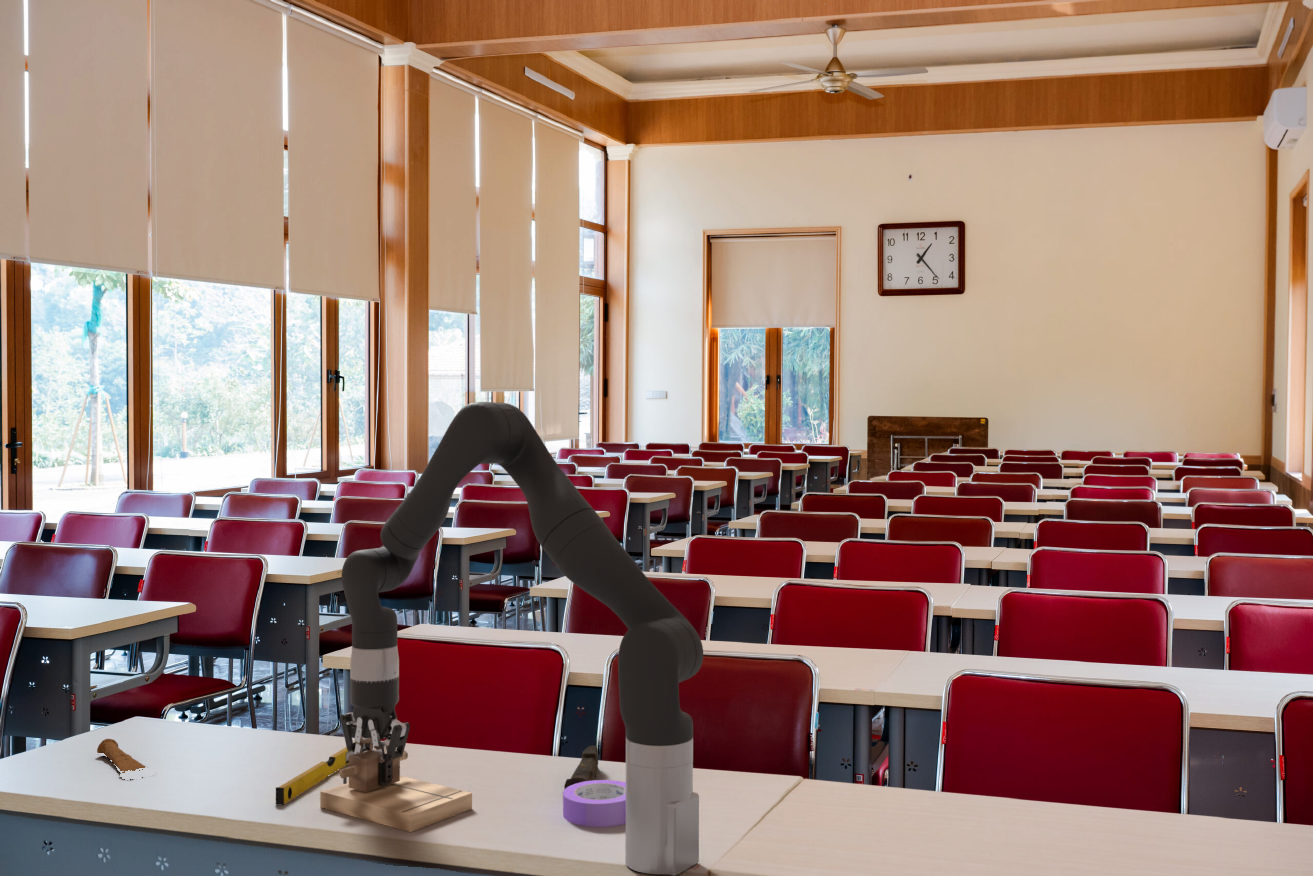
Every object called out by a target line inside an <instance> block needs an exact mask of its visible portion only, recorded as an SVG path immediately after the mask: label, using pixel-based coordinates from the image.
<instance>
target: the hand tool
mask: <svg viewBox="0 0 1313 876" xmlns="http://www.w3.org/2000/svg"><path fill="white" fill-rule="evenodd" d="M598 751H599V750H598V747H597V746H596V745H593V744H592V745H588V746H587V747H586V748H585V749H584V750H583V751H582V752H581V753H582V754H581V759H580V762H579V764H578V765H577V767H576V768H575V770H574V771H573V773H572V775H571V776H570V778H567V779H566V781H565V783H564V785H563V786H564V787H563V788H564V789H563V791H564V790H565V789H566V788H567V787H569V786H571V785H573V784H576V783H580V782H585V781H593V780H594V779H595V778H598V771H599V767H598V766H599V752H598Z"/></svg>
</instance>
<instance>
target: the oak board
mask: <svg viewBox="0 0 1313 876" xmlns="http://www.w3.org/2000/svg"><path fill="white" fill-rule="evenodd" d="M319 795H320V798H319V799H320V802H319V804H320V808H322V809H324V808H325V809H326V810H328V811H332V812H336V813H339V814H344V815H347V816H349V817H355V818H357V819H361V820H365V821H369V822H373V823H376V824H380V825H385V826H386V827H391V828H394V829H398V830H402V831H405V832H409V833H412V832H415V831H417V830H420V829H423V828H425V827H428V826H430V825H433V824H436V823H438V822H441V821H444V820H447V819H449V818H452V817H454V816H457V815H460V814H463V813H465V812H468V811H470V810H473V793H472V792H470V791H466V790H461V789H457V788H453V787H449V786H445V785H442V784H441V785H440V784H436V783H433V782H429V781H423V780H419V779H415V778H411V777H407V776H404V775H400V781H398V782H395V783H392V784H389V785H386V786H383V787H380V788H377V789H374V790H371V791H368V792H364V791H360V790H356V789H352V788H349V782H347V784H343V783H342V784H340V785H336V786H334V787H333V786H332V787H330V788H327V789H324V790H321V791H320V793H319ZM325 809H324V810H325Z"/></svg>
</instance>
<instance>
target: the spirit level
mask: <svg viewBox="0 0 1313 876" xmlns="http://www.w3.org/2000/svg"><path fill="white" fill-rule="evenodd" d="M353 743H355V741H353ZM364 746H365V744H364ZM372 749H374V746H373V744H372ZM353 754H354V752H352V751H351V752H349V751H348V750H347V747H346V746H345V747H344V748H342V749H340V750H338V751H337V752H336V753H333V754H332V755H330V756H329V758H328V760H327V761H321V762H318V763H317V764H315V765H313V766H312V767H310V768H308V769H307V770H305V771H303V772H302V773H300V774H297V776H295V777H293V778H292V779H289V780H288V781H286V782H285V783H283V784H281V785H280V786H277V787H276V786H275V805H276V804H282V805H281V806H284V805H285V804H287V803H289V802H290V801H292V800H293V799H296V798H297V797H298V796H300V795H301V794H303V793H304V791H305V790H306V791H307V789H308V788H309V789H311V788H312V786H313V785H314V786H315V784H316V783H317V784H319V783H320V782H319V781H321V780H322V781H324V780H325V779H327V778H328V777H329V776H328V775H330V774H332V773H333V774H335V773H336V772H338V771H339V770H338V769H340V770H341V769H343V768H345V767H346V766H349V756H350V755H353ZM342 767H343V768H342ZM337 770H338V771H337ZM335 771H336V772H335ZM334 772H335V773H334ZM333 774H332V775H333ZM327 776H328V777H327ZM330 776H331V775H330ZM326 777H327V778H326ZM323 779H324V780H323ZM322 781H321V782H322ZM318 782H319V783H318ZM317 784H316V785H317ZM314 786H313V787H314ZM310 787H311V788H310ZM309 789H308V790H309ZM306 791H305V792H306ZM302 792H303V793H302ZM300 793H301V794H300ZM299 794H300V795H299ZM297 795H298V796H297ZM296 796H297V797H296ZM291 799H292V800H291ZM288 801H289V802H288ZM286 802H287V803H286Z"/></svg>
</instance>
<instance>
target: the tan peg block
mask: <svg viewBox="0 0 1313 876" xmlns="http://www.w3.org/2000/svg"><path fill="white" fill-rule="evenodd" d="M395 751H396V750H395ZM384 752H385V754H386V753H387V750H386V746H384ZM408 757H409V755H408V752H407V750H404V753H403V756H402V757H400V758H397V759H394V760H393V771H392V772H393V778H392V781H391V783H390V784H392V783H395V782H398V781H400V776H401V766H400V764H401V761H405V760H407V759H408ZM378 763H379V760H378V755H377V750H376V748H374V747H373V749H371V750H367V751H364V752H360V753H357V754H353V755H350V756H349V764H348V767H344V768H341V769H340V770H339V772H338V773H339V777H340V778H341V779H342V782H343V783H342V784H347V783H349V788H352V789H356V790H360V791H364V792H368V791H371V790H374V789H377V788H380V787H383V786H380V785H378ZM347 779H348V780H347ZM388 785H389V784H388ZM385 786H386V785H385Z"/></svg>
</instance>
